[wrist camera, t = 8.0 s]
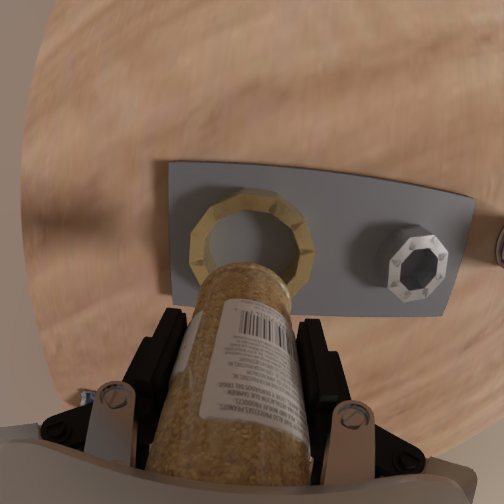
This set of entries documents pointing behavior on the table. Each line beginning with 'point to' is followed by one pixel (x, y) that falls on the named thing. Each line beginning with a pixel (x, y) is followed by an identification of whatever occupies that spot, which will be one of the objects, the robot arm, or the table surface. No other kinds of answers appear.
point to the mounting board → (317, 233)
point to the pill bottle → (500, 249)
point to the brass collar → (262, 202)
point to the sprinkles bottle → (236, 388)
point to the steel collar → (399, 250)
